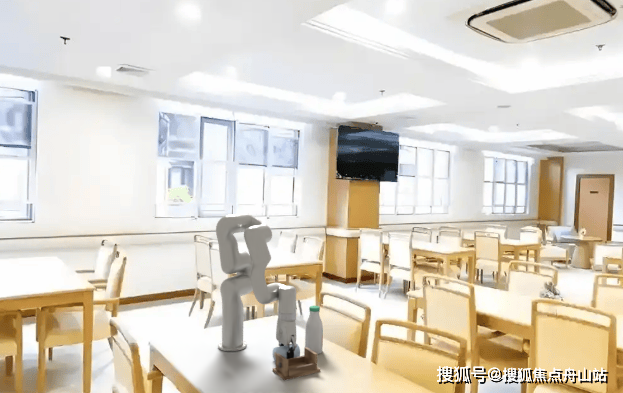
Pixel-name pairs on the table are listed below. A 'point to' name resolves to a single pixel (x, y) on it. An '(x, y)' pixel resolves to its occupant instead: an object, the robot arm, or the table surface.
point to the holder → (296, 365)
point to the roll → (285, 351)
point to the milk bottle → (314, 330)
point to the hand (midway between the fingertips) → (286, 357)
